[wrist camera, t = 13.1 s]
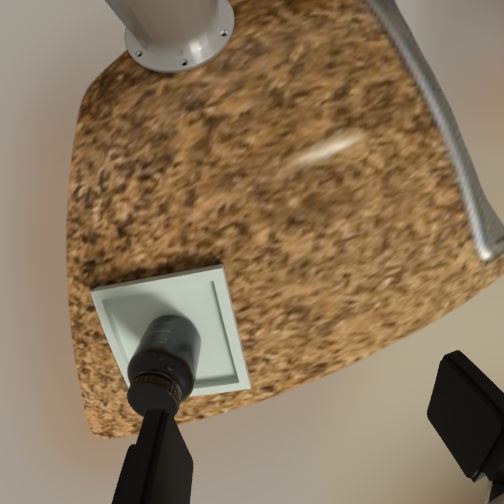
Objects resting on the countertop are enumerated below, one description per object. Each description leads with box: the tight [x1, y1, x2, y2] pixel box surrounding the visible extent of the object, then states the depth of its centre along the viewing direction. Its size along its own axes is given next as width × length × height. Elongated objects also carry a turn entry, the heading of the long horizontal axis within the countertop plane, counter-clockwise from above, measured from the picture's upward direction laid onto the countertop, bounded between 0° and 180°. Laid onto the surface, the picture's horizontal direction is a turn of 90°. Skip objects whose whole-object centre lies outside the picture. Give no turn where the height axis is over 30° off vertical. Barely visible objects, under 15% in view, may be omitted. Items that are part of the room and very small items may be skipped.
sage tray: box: [90, 264, 251, 396], centre depth 35 cm, size 16×16×2 cm
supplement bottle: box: [127, 315, 201, 417], centre depth 29 cm, size 7×7×12 cm
